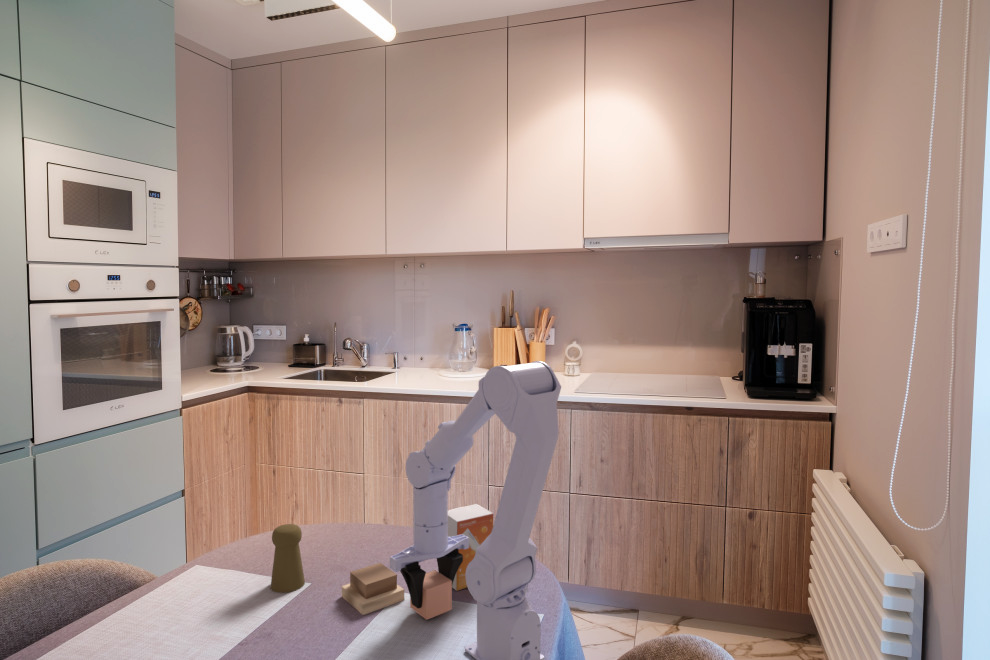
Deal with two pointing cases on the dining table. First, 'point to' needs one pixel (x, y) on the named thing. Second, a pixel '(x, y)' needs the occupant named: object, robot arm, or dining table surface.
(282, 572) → the olive game pawn
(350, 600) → the birch base slab
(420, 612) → the terracotta cube
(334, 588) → the dining table surface
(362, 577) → the walnut top slab
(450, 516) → the small box
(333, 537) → the dining table surface
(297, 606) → the dining table surface
